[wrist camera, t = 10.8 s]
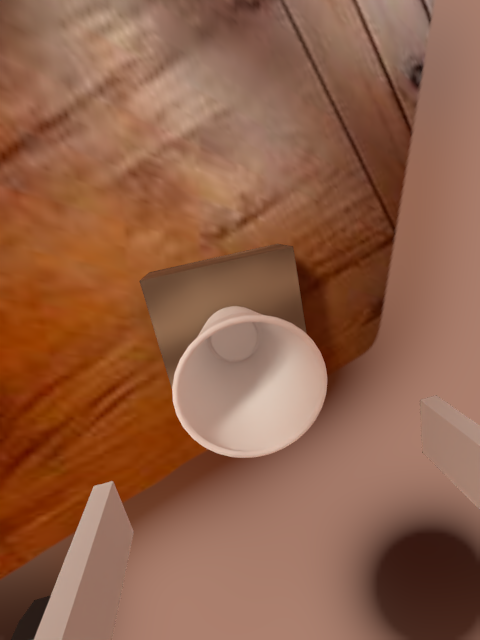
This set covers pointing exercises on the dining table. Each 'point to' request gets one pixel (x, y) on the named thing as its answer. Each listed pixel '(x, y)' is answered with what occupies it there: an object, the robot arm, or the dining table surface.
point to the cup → (249, 384)
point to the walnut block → (220, 295)
